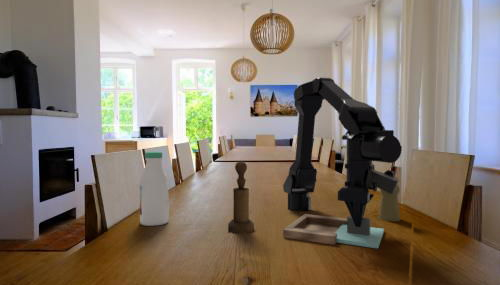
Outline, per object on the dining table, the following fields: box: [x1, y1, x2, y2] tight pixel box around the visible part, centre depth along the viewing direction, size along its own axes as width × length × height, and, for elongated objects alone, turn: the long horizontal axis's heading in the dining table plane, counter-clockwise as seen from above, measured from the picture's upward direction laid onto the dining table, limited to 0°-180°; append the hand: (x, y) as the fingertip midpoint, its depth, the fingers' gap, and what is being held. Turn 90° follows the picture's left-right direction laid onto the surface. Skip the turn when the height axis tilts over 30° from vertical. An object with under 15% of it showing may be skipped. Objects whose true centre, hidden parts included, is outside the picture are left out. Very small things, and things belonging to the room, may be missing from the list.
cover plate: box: [335, 215, 385, 249], centre depth 79 cm, size 10×13×4 cm
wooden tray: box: [282, 213, 347, 246], centre depth 84 cm, size 12×17×3 cm
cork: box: [378, 184, 401, 222], centre depth 96 cm, size 6×6×11 cm
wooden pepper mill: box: [227, 161, 255, 234], centre depth 85 cm, size 7×6×18 cm
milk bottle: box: [139, 151, 170, 227], centre depth 94 cm, size 8×8×20 cm
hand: (358, 225), depth 79 cm, fingers closed on cover plate, 2 cm apart
